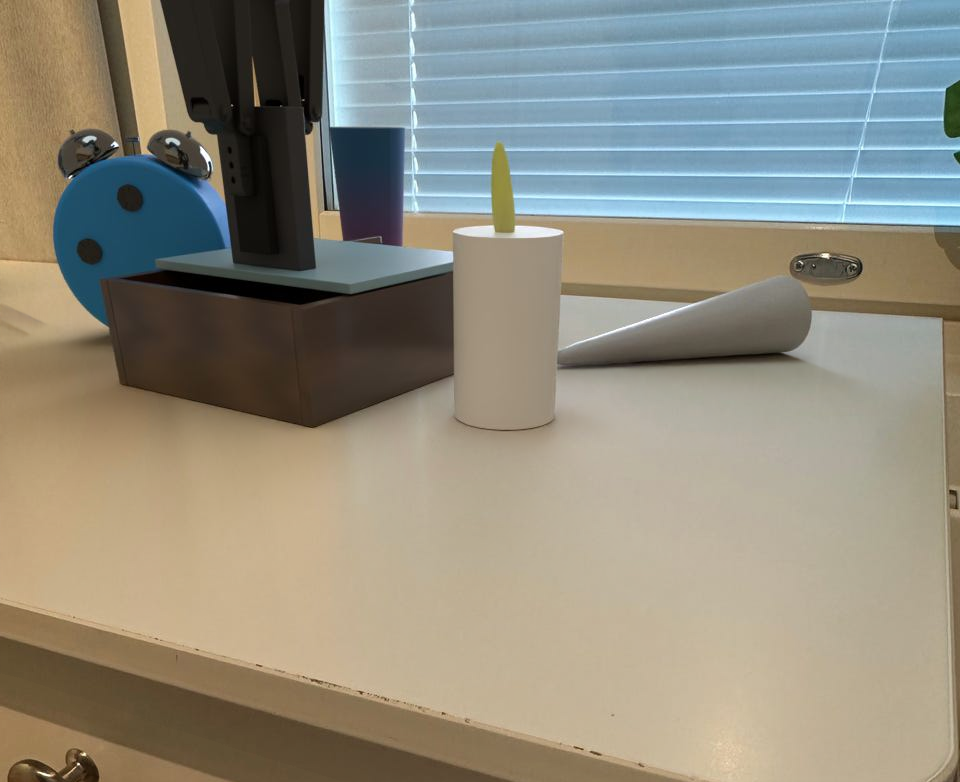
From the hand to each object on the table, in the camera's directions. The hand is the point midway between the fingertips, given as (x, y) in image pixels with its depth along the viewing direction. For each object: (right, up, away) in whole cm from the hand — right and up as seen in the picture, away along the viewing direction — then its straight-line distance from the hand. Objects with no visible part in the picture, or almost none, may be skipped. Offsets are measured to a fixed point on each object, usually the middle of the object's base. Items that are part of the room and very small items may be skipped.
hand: (272, 249), depth 58 cm
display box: (+4, -4, +10) cm, 11 cm away
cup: (+3, +8, +30) cm, 31 cm away
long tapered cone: (+29, -4, +10) cm, 31 cm away
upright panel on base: (+3, +1, +4) cm, 5 cm away
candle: (+15, -11, -2) cm, 19 cm away
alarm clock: (-13, 0, +16) cm, 20 cm away
